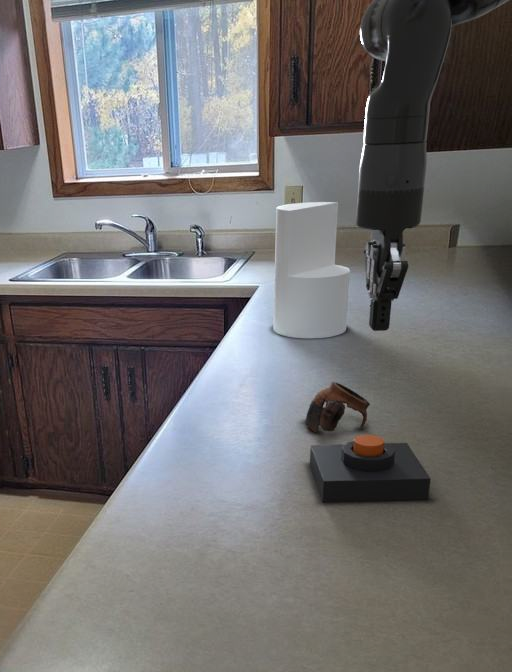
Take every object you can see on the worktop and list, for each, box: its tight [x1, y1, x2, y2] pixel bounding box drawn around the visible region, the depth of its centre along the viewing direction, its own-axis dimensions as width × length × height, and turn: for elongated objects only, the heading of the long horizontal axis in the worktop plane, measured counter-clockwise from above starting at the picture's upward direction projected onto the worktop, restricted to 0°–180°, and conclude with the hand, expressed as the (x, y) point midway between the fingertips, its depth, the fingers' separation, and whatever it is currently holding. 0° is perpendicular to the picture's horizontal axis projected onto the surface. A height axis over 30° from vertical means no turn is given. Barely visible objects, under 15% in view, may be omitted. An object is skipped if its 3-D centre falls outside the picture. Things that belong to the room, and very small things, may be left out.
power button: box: [353, 434, 385, 456], centre depth 102 cm, size 4×4×2 cm
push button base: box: [309, 440, 431, 503], centre depth 104 cm, size 14×12×5 cm
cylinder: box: [273, 201, 351, 339], centre depth 173 cm, size 17×17×28 cm
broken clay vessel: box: [304, 381, 371, 433], centre depth 121 cm, size 12×10×8 cm
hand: (378, 328), depth 95 cm, fingers closed
